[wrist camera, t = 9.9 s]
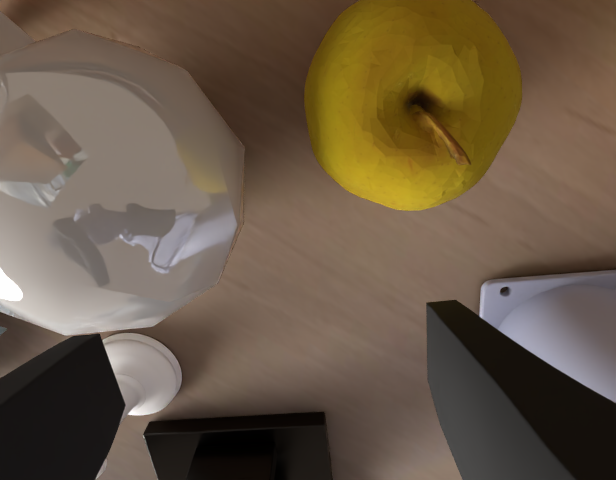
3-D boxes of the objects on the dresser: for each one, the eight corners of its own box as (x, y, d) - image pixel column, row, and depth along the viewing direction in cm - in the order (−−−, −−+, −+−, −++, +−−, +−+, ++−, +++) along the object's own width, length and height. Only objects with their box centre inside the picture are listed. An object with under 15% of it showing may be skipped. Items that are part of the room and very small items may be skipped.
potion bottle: (246, 248, 21) (0, 41, 20) (348, 131, 13) (-47, -227, 12) (106, 412, 16) (-250, 142, 14) (140, 377, 8) (-645, -232, 6)
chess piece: (149, 318, 21) (14, 508, 12) (199, 389, 23) (113, 606, 14) (72, 351, 22) (-109, 551, 13) (125, 418, 24) (-2, 638, 15)
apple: (439, 189, 18) (516, 269, 11) (294, 159, 18) (273, 220, 11) (491, 28, 16) (635, -9, 9) (325, -9, 16) (327, -80, 8)
